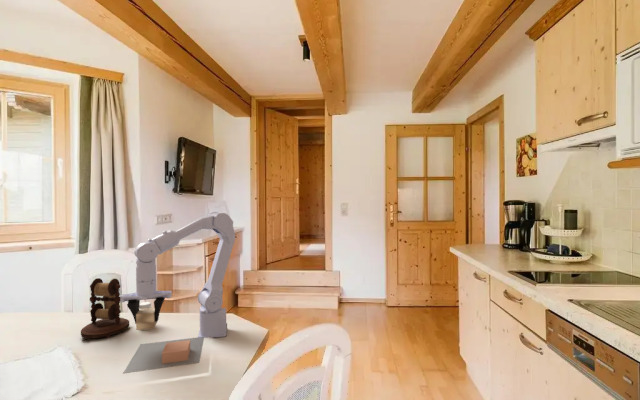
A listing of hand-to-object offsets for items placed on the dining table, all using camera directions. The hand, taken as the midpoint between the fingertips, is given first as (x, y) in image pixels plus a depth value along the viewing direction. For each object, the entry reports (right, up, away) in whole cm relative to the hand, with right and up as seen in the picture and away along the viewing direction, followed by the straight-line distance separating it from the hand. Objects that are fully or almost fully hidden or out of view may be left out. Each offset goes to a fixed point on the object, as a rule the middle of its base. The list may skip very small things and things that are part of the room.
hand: (147, 321), depth 103 cm
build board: (+8, -9, -3) cm, 13 cm away
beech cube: (0, -1, 0) cm, 1 cm away
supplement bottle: (-10, -9, +17) cm, 22 cm away
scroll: (-22, -10, +14) cm, 28 cm away
